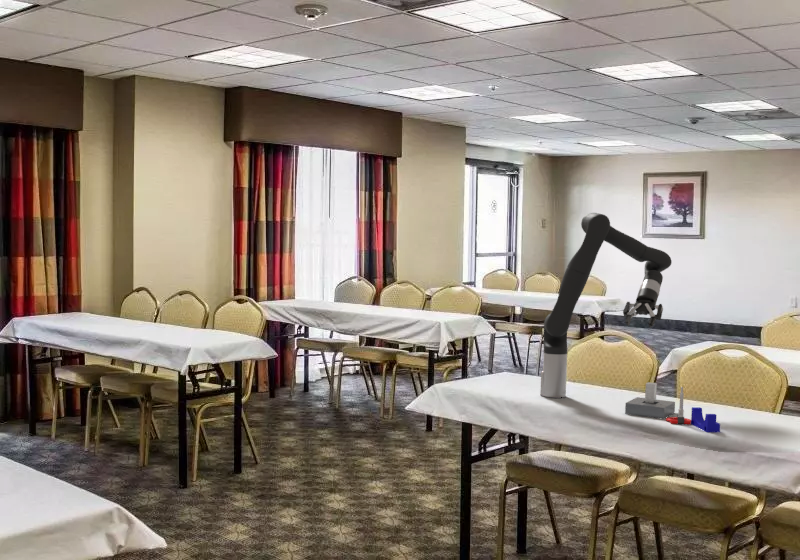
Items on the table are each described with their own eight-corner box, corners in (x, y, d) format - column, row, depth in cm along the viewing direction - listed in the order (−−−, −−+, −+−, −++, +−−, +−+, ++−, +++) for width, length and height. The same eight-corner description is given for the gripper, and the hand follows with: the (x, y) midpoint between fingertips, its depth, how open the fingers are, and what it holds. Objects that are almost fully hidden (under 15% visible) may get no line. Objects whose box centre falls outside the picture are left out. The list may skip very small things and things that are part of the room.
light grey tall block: (644, 413, 317) (645, 383, 316) (646, 411, 320) (647, 382, 319) (653, 414, 315) (654, 384, 315) (655, 413, 318) (656, 383, 318)
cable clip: (719, 432, 289) (720, 414, 289) (707, 432, 289) (707, 414, 288) (703, 424, 301) (704, 407, 301) (691, 424, 301) (691, 407, 300)
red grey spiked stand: (664, 419, 309) (668, 424, 300) (666, 383, 309) (669, 386, 300) (689, 421, 308) (693, 425, 299) (690, 384, 308) (695, 388, 299)
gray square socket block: (625, 413, 315) (625, 402, 315) (636, 407, 327) (637, 397, 327) (664, 419, 308) (664, 407, 308) (674, 412, 320) (675, 401, 319)
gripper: (628, 286, 341) (618, 317, 332) (665, 288, 333) (655, 320, 324) (632, 299, 346) (622, 330, 336) (668, 301, 338) (659, 333, 329)
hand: (638, 325), depth 330 cm, fingers open, 8 cm apart
